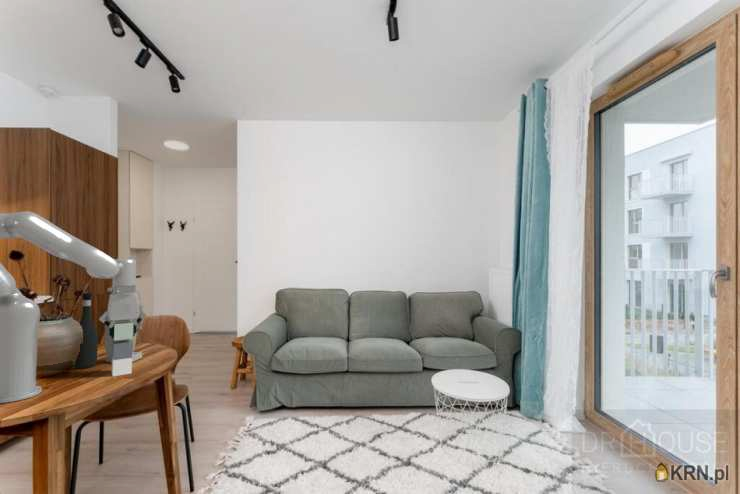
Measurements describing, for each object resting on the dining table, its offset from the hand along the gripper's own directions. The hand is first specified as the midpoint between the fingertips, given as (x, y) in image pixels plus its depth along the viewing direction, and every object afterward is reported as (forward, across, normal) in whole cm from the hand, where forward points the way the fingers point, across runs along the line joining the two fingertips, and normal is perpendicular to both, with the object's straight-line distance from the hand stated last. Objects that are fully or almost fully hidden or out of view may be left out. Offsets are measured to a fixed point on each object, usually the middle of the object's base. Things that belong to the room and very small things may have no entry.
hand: (123, 336), depth 142 cm
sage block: (+1, 0, 0) cm, 1 cm away
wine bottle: (+14, -11, +18) cm, 26 cm away
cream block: (+14, 0, 0) cm, 14 cm away
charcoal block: (+8, 0, 0) cm, 8 cm away
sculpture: (+14, +3, +19) cm, 24 cm away
